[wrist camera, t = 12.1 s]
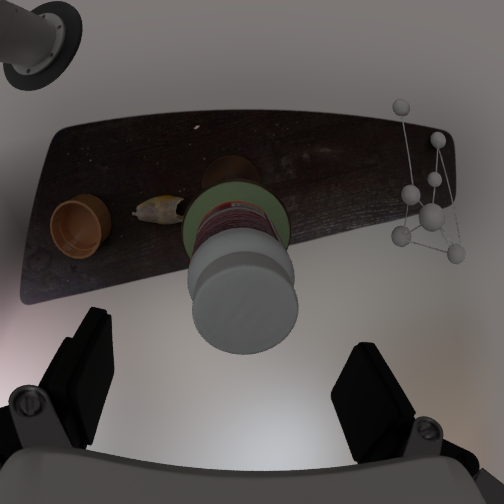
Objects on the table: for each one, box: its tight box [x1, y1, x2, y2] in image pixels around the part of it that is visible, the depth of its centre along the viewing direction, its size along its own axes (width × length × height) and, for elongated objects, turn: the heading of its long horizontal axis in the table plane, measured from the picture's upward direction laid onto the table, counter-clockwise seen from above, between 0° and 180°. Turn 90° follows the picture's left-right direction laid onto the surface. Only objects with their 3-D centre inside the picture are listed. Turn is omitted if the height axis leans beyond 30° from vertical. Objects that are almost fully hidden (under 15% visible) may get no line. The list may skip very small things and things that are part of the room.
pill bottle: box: [188, 200, 298, 355], centre depth 20 cm, size 6×6×11 cm
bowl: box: [50, 194, 111, 259], centre depth 45 cm, size 9×9×6 cm
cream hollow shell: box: [132, 195, 184, 224], centre depth 46 cm, size 8×4×5 cm, turn 102°
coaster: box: [183, 181, 290, 259], centre depth 25 cm, size 9×9×1 cm
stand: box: [181, 155, 291, 260], centre depth 37 cm, size 9×9×24 cm
